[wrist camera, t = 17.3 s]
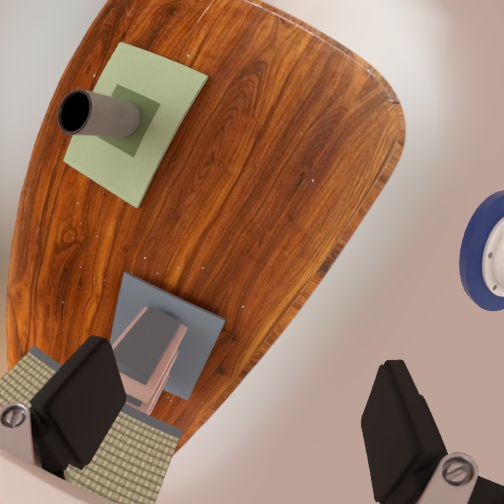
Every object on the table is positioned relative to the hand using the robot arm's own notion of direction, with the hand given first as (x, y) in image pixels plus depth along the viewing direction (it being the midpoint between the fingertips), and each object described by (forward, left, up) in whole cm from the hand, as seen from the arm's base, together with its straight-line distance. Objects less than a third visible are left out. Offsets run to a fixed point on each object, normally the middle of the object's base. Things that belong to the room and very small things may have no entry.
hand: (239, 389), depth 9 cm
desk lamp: (+22, -5, -26) cm, 35 cm away
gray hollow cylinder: (-2, -22, -26) cm, 34 cm away
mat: (-2, -22, -26) cm, 34 cm away
